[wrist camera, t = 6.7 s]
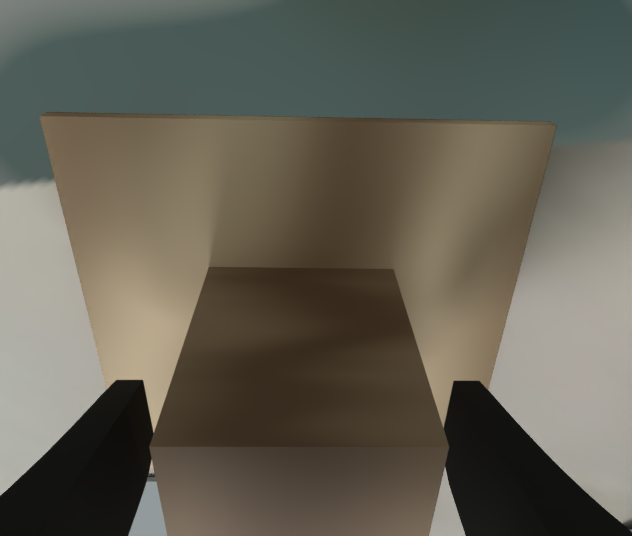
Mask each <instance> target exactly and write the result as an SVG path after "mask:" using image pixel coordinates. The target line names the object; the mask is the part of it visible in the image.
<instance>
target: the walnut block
mask: <svg viewBox="0 0 632 536" xmlns="http://www.w3.org/2000/svg"><path fill="white" fill-rule="evenodd" d="M149 448H150V453H151V458H152V462H153V467H154V472H155V477H156V482H157V487H158V492H159V497H160V502H161V507H162V512H163V517H164V522H165V527H166V532H167V536H429V533H430V528H431V524H432V519H433V515H434V511H435V506H436V502H437V498H438V493H439V489H440V485H441V480H442V476H443V472H444V467H445V463H446V459H447V454H448V450H449V444H448V441H447V438H446V435H445V432H444V429H443V425H442V422H441V419H440V416H439V413H438V409H437V406H436V403H435V400H434V397H433V394H432V390H431V387H430V384H429V381H428V378H427V374H426V371H425V368H424V365H423V362H422V358H421V355H420V352H419V349H418V346H417V343H416V339H415V336H414V333H413V330H412V327H411V323H410V320H409V317H408V314H407V311H406V308H405V304H404V301H403V298H402V295H401V292H400V288H399V285H398V282H397V279H396V276H395V273H394V269H348V268H262V267H209V268H208V271H207V274H206V277H205V280H204V283H203V286H202V289H201V292H200V295H199V298H198V301H197V304H196V307H195V310H194V313H193V316H192V319H191V322H190V325H189V328H188V331H187V334H186V337H185V340H184V343H183V346H182V350H181V353H180V356H179V359H178V362H177V365H176V368H175V371H174V374H173V377H172V380H171V383H170V386H169V389H168V392H167V395H166V398H165V401H164V404H163V407H162V410H161V413H160V416H159V419H158V422H157V425H156V428H155V431H154V434H153V437H152V440H151V443H150V446H149Z"/></svg>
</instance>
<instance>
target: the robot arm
mask: <svg viewBox="0 0 632 536" xmlns="http://www.w3.org/2000/svg"><path fill="white" fill-rule="evenodd" d="M443 429H444V432H445V435H446V438H447V441H448V444H449V450H448V454H447V459H446V463H445V467H446V471H447V476H448V481H449V485H450V488H451V491H452V495H453V498H454V501H455V504H456V507H457V510H458V513H459V516H460V519H461V522H462V525H463V528H464V531H465V534H466V536H632V530H629V529H628V528H627V527H625V526H624V525H623V524H622V523H621V522H619V521H618V520H617V519H616V518H615V517H614V516H612V515H611V514H610V513H609V512H608V511H606V510H605V509H604V508H603V507H602V506H601V505H599V504H598V503H597V502H596V501H595V500H594V499H593V498H592V497H590V496H589V495H588V494H587V493H586V492H585V491H584V490H583V489H582V488H581V487H580V486H579V485H578V484H576V483H575V482H574V481H573V480H572V479H571V478H570V477H569V476H568V475H567V474H566V473H565V472H564V471H563V470H562V469H561V468H560V467H559V466H558V465H557V464H556V463H555V462H554V461H553V460H552V459H551V458H550V457H549V456H548V455H547V454H546V453H545V452H544V451H543V450H542V449H541V448H540V447H539V446H538V445H537V444H536V442H535V441H534V440H533V439H532V438H531V437H530V436H529V435H528V434H527V433H526V432H525V431H524V430H523V429H522V428H521V426H520V425H519V424H518V423H517V422H516V421H515V420H514V419H513V418H512V416H511V415H510V414H509V413H508V412H507V411H506V410H505V409H504V408H503V406H502V405H501V404H500V403H499V402H498V401H497V400H496V399H495V397H494V396H493V395H492V394H491V393H490V392H489V391H488V390H487V388H486V387H485V386H484V385H483V384H482V383H481V382H480V381H453V386H452V391H451V395H450V400H449V405H448V409H447V414H446V419H445V423H444V428H443ZM153 434H154V433H153V428H152V422H151V417H150V412H149V407H148V402H147V397H146V392H145V387H144V382H143V380H116V381H115V382H114V383H112V384H111V386H110V387H109V388H108V389H107V390H106V391H105V392H104V393H103V394H102V395H101V396H100V397H99V398H98V399H97V401H96V402H95V403H94V404H93V405H92V406H91V407H90V408H89V409H88V410H87V411H86V412H85V413H84V414H83V416H82V417H81V418H80V419H79V420H78V421H77V422H76V423H75V424H74V425H73V426H72V427H71V428H70V429H69V430H68V431H67V432H66V433H65V434H64V435H63V436H62V437H61V438H60V439H59V440H58V441H57V442H56V443H55V444H54V445H53V447H52V448H51V449H50V450H49V451H48V452H47V453H46V454H45V455H44V456H43V457H42V458H41V459H39V460H38V461H37V462H36V463H35V464H34V465H33V466H32V467H31V468H30V469H29V470H28V471H27V472H26V473H25V474H24V475H22V476H21V477H20V478H19V479H18V480H17V481H16V482H15V483H14V484H13V485H12V486H11V487H10V488H9V489H7V490H6V491H5V492H4V493H3V494H2V495H1V496H0V536H128V535H129V532H130V529H131V527H132V524H133V521H134V518H135V515H136V512H137V509H138V506H139V504H140V501H141V498H142V495H143V492H144V489H145V486H146V482H147V478H148V473H149V469H150V465H151V460H152V458H151V453H150V448H149V446H150V443H151V440H152V437H153Z"/></svg>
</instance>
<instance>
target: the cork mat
mask: <svg viewBox="0 0 632 536" xmlns="http://www.w3.org/2000/svg"><path fill="white" fill-rule="evenodd" d="M40 121H41V125H42V129H43V133H44V137H45V141H46V145H47V149H48V153H49V157H50V161H51V165H52V169H53V174H54V178H55V182H56V186H57V190H58V194H59V198H60V202H61V206H62V210H63V214H64V218H65V222H66V226H67V230H68V234H69V238H70V242H71V246H72V250H73V255H74V259H75V263H76V267H77V271H78V275H79V279H80V283H81V287H82V291H83V295H84V299H85V303H86V307H87V311H88V315H89V319H90V323H91V327H92V331H93V336H94V340H95V344H96V348H97V352H98V356H99V360H100V364H101V368H102V372H103V376H104V380H105V384H106V388H107V389H108V388H109V387H110V386H111V384H112V383H114V382H115V381H116V380H143V382H144V387H145V392H146V397H147V402H148V407H149V412H150V417H151V422H152V428H153V433H154V431H155V428H156V425H157V422H158V419H159V416H160V413H161V410H162V407H163V404H164V401H165V398H166V395H167V392H168V389H169V386H170V383H171V380H172V377H173V374H174V371H175V368H176V365H177V362H178V359H179V356H180V353H181V350H182V346H183V343H184V340H185V337H186V334H187V331H188V328H189V325H190V322H191V319H192V316H193V313H194V310H195V307H196V304H197V301H198V298H199V295H200V292H201V289H202V286H203V283H204V280H205V277H206V274H207V271H208V268H209V267H262V268H348V269H394V273H395V276H396V279H397V282H398V285H399V288H400V292H401V295H402V298H403V301H404V304H405V308H406V311H407V314H408V317H409V320H410V323H411V327H412V330H413V333H414V336H415V339H416V343H417V346H418V349H419V352H420V355H421V358H422V362H423V365H424V368H425V371H426V374H427V378H428V381H429V384H430V387H431V390H432V394H433V397H434V400H435V403H436V406H437V409H438V413H439V416H440V419H441V422H442V425H443V428H444V423H445V419H446V414H447V409H448V405H449V400H450V395H451V391H452V386H453V381H480V382H481V383H482V384H483V385H484V386H485V387H486V388H487V390H488V388H489V384H490V381H491V377H492V373H493V369H494V365H495V361H496V358H497V354H498V350H499V346H500V342H501V338H502V335H503V331H504V327H505V323H506V319H507V315H508V312H509V308H510V304H511V300H512V296H513V292H514V289H515V285H516V281H517V277H518V273H519V269H520V266H521V262H522V258H523V254H524V250H525V246H526V243H527V239H528V235H529V231H530V227H531V223H532V220H533V216H534V212H535V208H536V204H537V200H538V197H539V193H540V189H541V185H542V181H543V177H544V174H545V170H546V166H547V162H548V158H549V154H550V151H551V147H552V143H553V139H554V135H555V131H556V128H557V125H555V124H553V123H551V122H545V121H544V122H543V121H490V120H437V119H383V118H331V117H279V116H278V117H277V116H276V117H275V116H226V115H224V116H223V115H173V114H172V115H171V114H120V113H119V114H118V113H66V112H65V113H64V112H46V113H44V114H43V115H40ZM150 468H154V467H153V462H152V460H151V465H150Z"/></svg>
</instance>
